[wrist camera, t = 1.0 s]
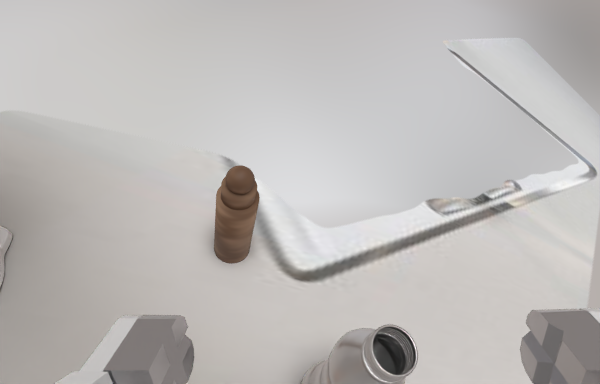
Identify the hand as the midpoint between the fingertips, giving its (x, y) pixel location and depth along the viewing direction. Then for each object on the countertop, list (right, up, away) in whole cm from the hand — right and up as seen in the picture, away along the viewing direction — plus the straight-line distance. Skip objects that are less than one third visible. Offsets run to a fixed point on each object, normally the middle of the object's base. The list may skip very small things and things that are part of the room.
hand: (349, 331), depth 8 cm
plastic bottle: (+1, -21, +32) cm, 38 cm away
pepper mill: (-11, -5, +41) cm, 43 cm away
